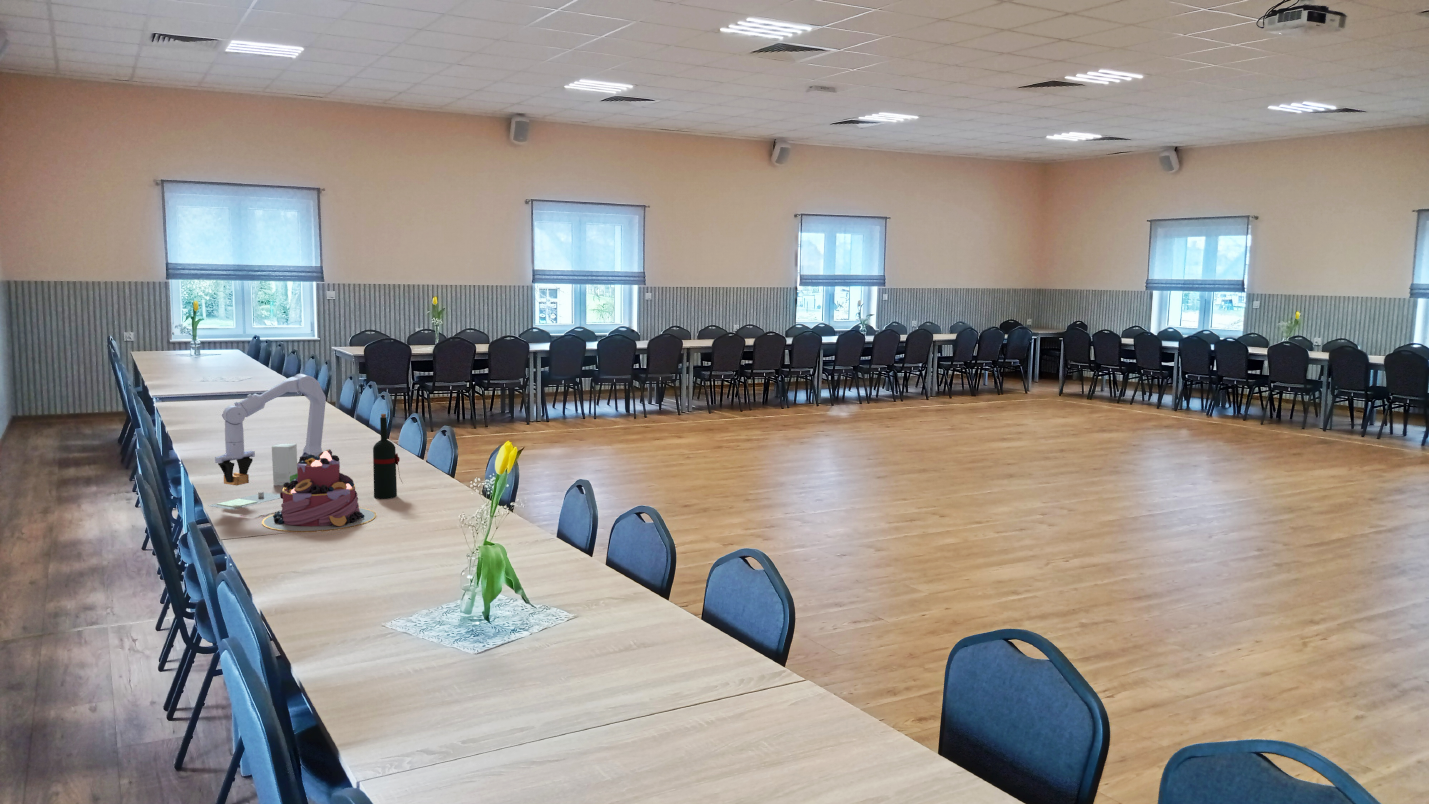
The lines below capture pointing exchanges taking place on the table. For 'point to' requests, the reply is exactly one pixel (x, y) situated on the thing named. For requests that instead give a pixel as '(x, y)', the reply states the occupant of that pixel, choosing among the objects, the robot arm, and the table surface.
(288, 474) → the skincare box
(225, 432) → the robot arm
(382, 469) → the wine bottle
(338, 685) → the table surface
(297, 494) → the wedding cake
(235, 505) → the peg board
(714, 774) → the table surface
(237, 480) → the c link
